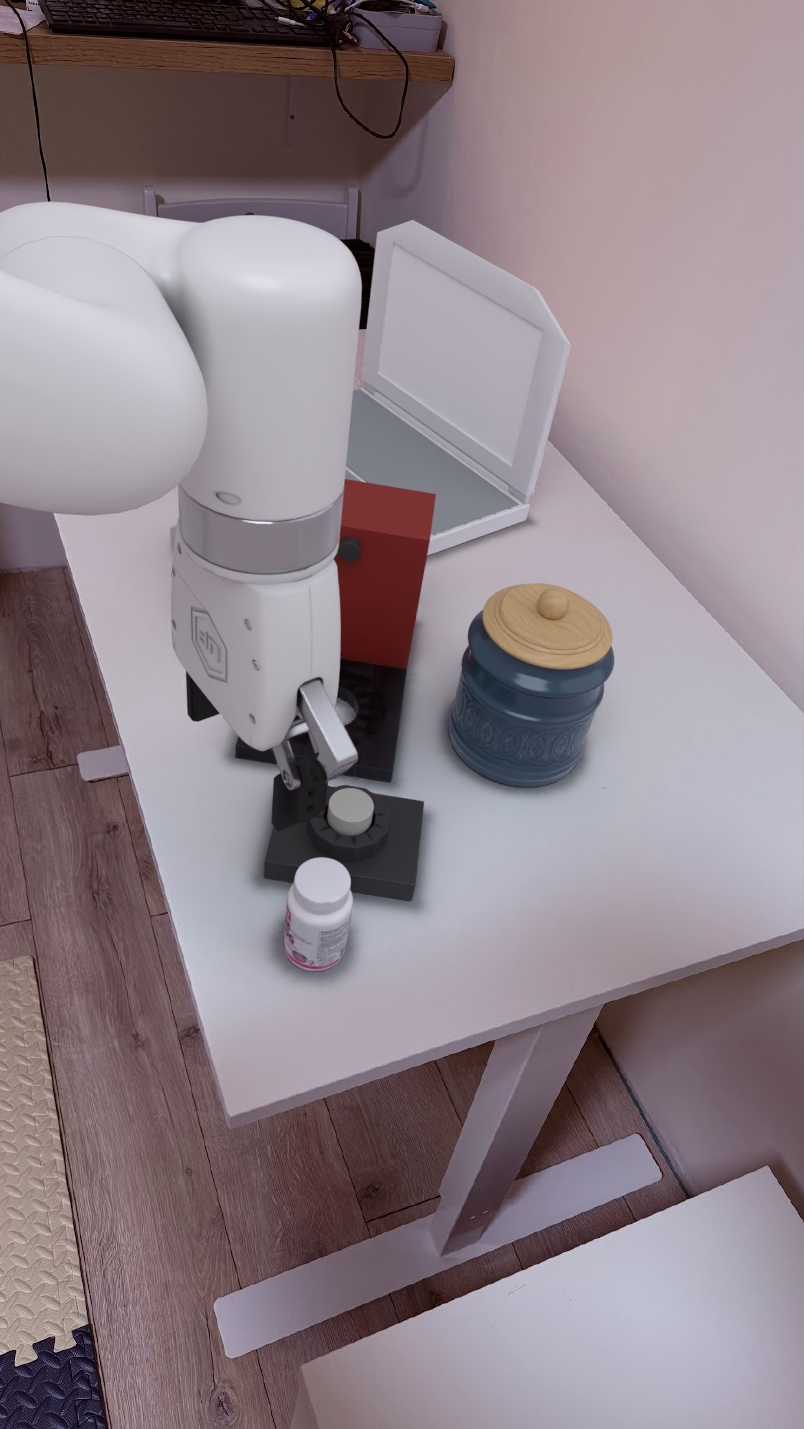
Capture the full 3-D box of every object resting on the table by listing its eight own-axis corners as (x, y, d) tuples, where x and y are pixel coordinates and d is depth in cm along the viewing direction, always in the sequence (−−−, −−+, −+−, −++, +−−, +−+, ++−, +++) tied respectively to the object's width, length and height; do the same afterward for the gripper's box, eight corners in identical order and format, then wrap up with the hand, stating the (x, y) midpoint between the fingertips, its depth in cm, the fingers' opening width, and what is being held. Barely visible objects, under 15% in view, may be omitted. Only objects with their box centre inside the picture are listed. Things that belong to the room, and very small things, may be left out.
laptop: (215, 438, 129) (217, 220, 111) (365, 401, 142) (388, 201, 124) (374, 575, 112) (406, 345, 94) (528, 520, 125) (582, 307, 107)
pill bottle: (271, 937, 77) (275, 869, 71) (323, 910, 79) (332, 842, 74) (305, 984, 74) (313, 917, 69) (357, 954, 77) (369, 887, 71)
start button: (324, 832, 80) (325, 817, 79) (330, 798, 83) (332, 784, 82) (368, 839, 81) (371, 825, 79) (373, 805, 83) (376, 791, 82)
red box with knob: (265, 658, 100) (272, 520, 89) (281, 603, 107) (290, 469, 96) (405, 681, 100) (429, 546, 89) (412, 625, 107) (436, 493, 96)
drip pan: (235, 757, 90) (235, 746, 89) (265, 657, 100) (266, 646, 99) (390, 782, 90) (392, 771, 89) (405, 680, 100) (407, 669, 99)
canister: (607, 766, 95) (665, 619, 83) (495, 808, 90) (540, 657, 78) (529, 680, 103) (571, 534, 91) (420, 714, 97) (450, 562, 85)
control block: (263, 878, 81) (265, 846, 78) (283, 795, 87) (286, 763, 85) (411, 901, 81) (418, 871, 78) (420, 817, 88) (427, 786, 85)
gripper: (105, 441, 50) (128, 695, 62) (289, 641, 41) (275, 895, 52) (239, 412, 54) (237, 657, 65) (436, 590, 44) (392, 837, 56)
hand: (254, 762), depth 59 cm, fingers open, 9 cm apart
